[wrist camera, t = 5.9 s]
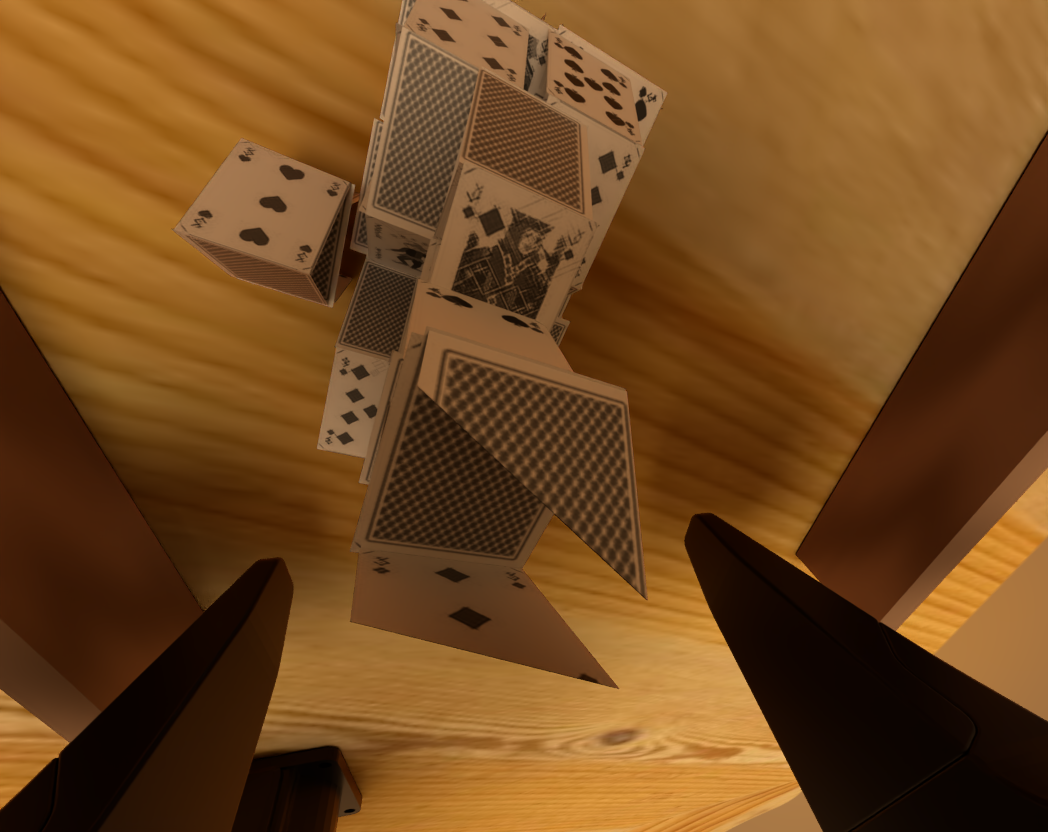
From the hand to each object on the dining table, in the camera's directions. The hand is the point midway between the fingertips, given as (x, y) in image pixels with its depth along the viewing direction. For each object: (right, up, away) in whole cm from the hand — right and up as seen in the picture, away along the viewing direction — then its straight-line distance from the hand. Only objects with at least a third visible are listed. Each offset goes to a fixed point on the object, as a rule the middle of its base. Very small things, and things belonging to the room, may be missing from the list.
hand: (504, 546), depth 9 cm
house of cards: (-3, +7, -2) cm, 8 cm away
